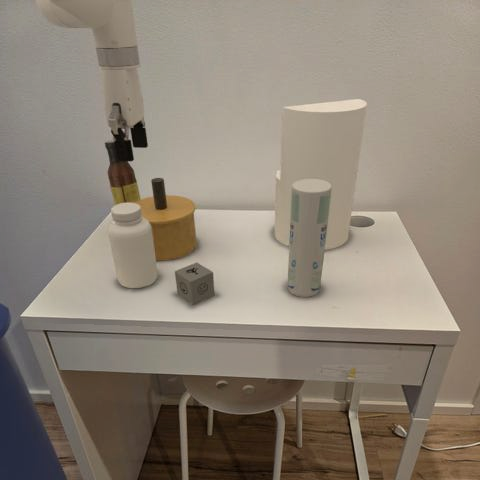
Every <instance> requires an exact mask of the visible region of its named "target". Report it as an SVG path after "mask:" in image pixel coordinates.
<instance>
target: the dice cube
mask: <svg viewBox="0 0 480 480" xmlns="http://www.w3.org/2000/svg"><path fill="white" fill-rule="evenodd" d="M174 278H175V285H176V293H177V295H178V296H179V297H181V298H182V299H184V300H185V301H186V302H187V303H188V304H190V305H192V306H194V305H197V304H198V303H201V302H203V301H206V300H207V299H209V298H212V297H213V296H215V281H214V271H212V270H210V269H208V268H207V267H206V266H204V265H202V264H201V263H199V262H198V261H197V262H193V263H191V264H189V265H187V266H184V267H181V268H179V269H176V270H174Z"/></svg>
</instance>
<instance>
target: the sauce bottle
mask: <svg viewBox="0 0 480 480" xmlns="http://www.w3.org/2000/svg"><path fill="white" fill-rule="evenodd" d="M104 148H105V149H106V151H107V155H108V162H109V166H108V169H107V177H108V182H109V186H110V191H111V196H112V200H113V203H114V206H115V205H117V204H121V203H134V202H136V201H138V200H141V199H142V198H141V194H140V190H139V185H138V181H137V178H136V174H135V170H134V168H133V167H132V166H131V164H130V162H129V161H118V159H117V154H116V148H115V142H114V140H113V139H109V140H106V141H104Z"/></svg>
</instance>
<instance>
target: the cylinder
mask: <svg viewBox="0 0 480 480" xmlns="http://www.w3.org/2000/svg"><path fill="white" fill-rule="evenodd" d="M367 106H368V103H367V101H365V100H363V99H360V98H355V99H345V100H336V101H327V102H317V103H307V104H298V105H288V106H283V107H282V117H281V118H282V119H281V144H280V145H281V147H280V169H278V170H277V171H276V173H275V197H274V198H275V199H274V224H273V225H274V226H273V227H274V228H273V229H274V230H273V231H274V232H273V233H274V238H275V239H276V240H277V241H278V242H279V243H281V244H282V245H284V246H287V247H289V241H290V218H291V196H292V184H293V183H294V182H296V181H298V180H302V179H319V180H324V181H327V182H328V183H330V184H331V187H332V189H331V198H330V207H329V216H328V224H327V233H326V242H325V251H328V250H333V249H336V248H339V247H341V246H342V245H344V244H345V243H346V242H347V241H348V239H349V233H350V227H351V220H352V219H351V218H352V214H353V213H352V212H353V207H354V206H353V204H354V199H355V198H354V197H355V191H356V183H357V177H358V171H359V169H358V168H359V163H360V155H361V149H362V141H363V134H364V127H365V120H366V114H367V113H366V112H367Z"/></svg>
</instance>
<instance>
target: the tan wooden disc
mask: <svg viewBox="0 0 480 480" xmlns="http://www.w3.org/2000/svg"><path fill="white" fill-rule="evenodd" d="M150 181H151V182H150V183H151V189H152V194H153V195H152V196H149V197H144V198H140V199H141V200H138V201H136V202H134V203H136V204H138V205H139V206H140V207H141V212H142V217H143V218H145V219H147V220H148V221H149V223H150V224H167V223H173V222H177V221H180V220H183V219H185V218H187V217H189V216H191V215H192V214H193V213H194V214H195V211H196V204H195V202H194V201H193V200H192V199H190V198H187V197H186V196H181V195H172V194H171V195H170V194H166V185H165V179H164V178H162V177H155V178H152V179H151V180H150Z"/></svg>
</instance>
